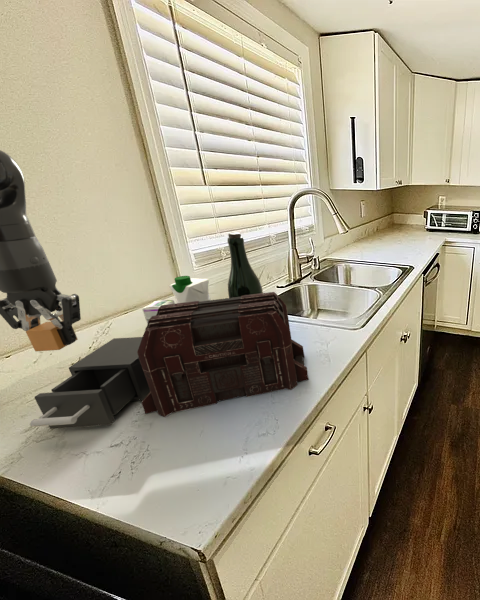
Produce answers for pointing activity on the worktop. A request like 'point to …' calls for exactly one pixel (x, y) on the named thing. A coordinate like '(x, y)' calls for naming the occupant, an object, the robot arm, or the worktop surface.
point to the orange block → (45, 337)
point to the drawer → (86, 399)
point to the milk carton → (190, 289)
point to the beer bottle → (241, 270)
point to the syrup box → (154, 308)
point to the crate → (218, 352)
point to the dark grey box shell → (117, 362)
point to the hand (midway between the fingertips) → (56, 343)
